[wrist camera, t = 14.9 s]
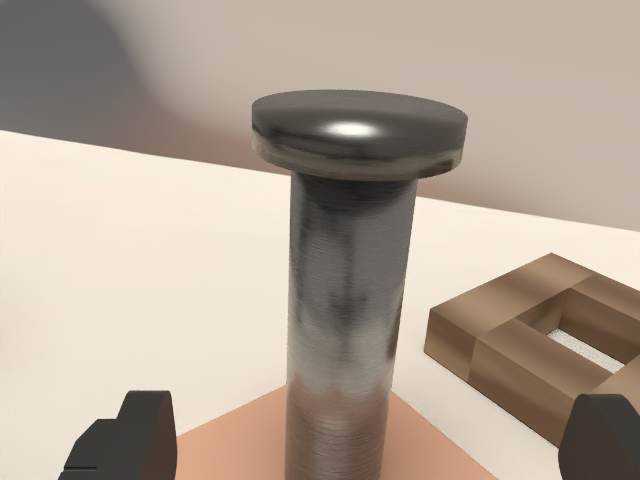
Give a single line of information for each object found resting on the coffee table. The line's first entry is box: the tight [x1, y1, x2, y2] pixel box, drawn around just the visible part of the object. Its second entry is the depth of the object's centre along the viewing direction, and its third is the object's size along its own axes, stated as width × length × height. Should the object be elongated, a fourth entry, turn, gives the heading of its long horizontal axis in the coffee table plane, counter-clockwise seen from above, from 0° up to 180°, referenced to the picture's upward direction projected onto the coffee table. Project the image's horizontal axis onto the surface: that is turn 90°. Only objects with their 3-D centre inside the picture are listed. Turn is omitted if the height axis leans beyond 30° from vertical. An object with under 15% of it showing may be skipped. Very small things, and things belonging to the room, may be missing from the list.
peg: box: [252, 90, 468, 480], centre depth 19 cm, size 6×6×15 cm
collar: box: [424, 253, 640, 448], centre depth 30 cm, size 12×12×3 cm
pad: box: [175, 385, 498, 480], centre depth 23 cm, size 11×11×1 cm
